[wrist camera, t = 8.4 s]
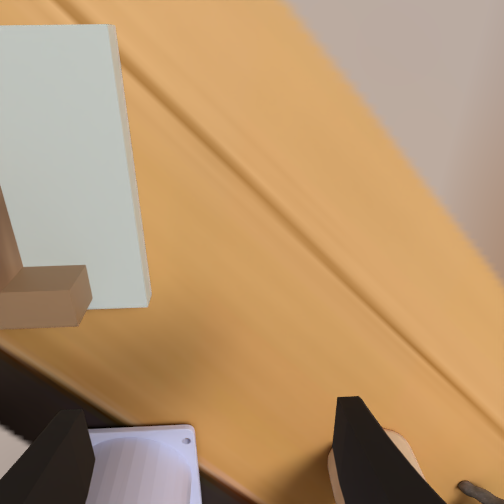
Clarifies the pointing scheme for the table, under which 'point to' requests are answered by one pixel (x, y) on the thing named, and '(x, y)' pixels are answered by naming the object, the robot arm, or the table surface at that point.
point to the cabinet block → (7, 247)
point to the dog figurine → (479, 493)
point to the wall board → (68, 176)
